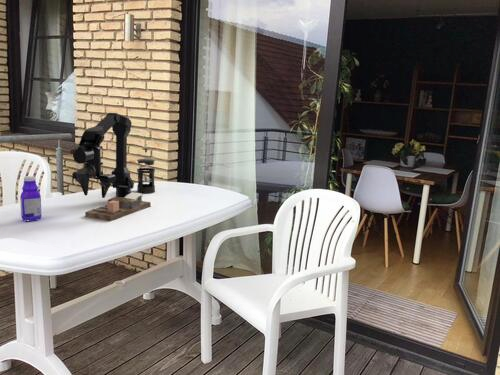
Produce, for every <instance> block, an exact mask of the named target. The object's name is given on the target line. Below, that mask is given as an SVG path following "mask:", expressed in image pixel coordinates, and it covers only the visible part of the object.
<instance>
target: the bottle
mask: <svg viewBox="0 0 500 375" xmlns="http://www.w3.org/2000/svg"><path fill="white" fill-rule="evenodd" d="M36 180H37V179H36V176H31V175H30V176H24V177H23V186H22V188H21V189H22V192H21V194H20V196H19V197H20V215H21V216H20V217H21V219H22V221H24V220H35V221H37V220H36V219H39V220H41V218H42V197H41V196H42V195H41V193H40V191H39V186H38V184H37V181H36Z"/></svg>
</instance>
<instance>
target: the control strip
mask: <svg viewBox="0 0 500 375" xmlns="http://www.w3.org/2000/svg"><path fill="white" fill-rule="evenodd" d="M127 195H128V194H127ZM127 195H125V197H126V196H127ZM142 198H143V196H139V197H138V200H137V201H135V202H132V203H130V202H124V201H119V211H116V212H109V211H108V205H107V204H106V205H103V206H99V207H97V208H93V209H91V210H90V209H89V210H87V211H84V215H85V217H86V218H89V219H96V220H103V221H109V222H112V221H115V220H117V219H120V218H123V217H125V216H128V215H130V214H134V213H137V212H140V211H141V210H145V209H147V208H150V207H151V206H152V205H151V202H150V201H145V200H142ZM110 201H113V200H111V198H108V200H107V202H110ZM114 201H117V200H114Z"/></svg>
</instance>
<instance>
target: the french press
mask: <svg viewBox="0 0 500 375" xmlns="http://www.w3.org/2000/svg"><path fill="white" fill-rule="evenodd" d="M142 150H144V152H145V153H147V152H148V150H151V149H150V148H148V147H147V148H146V147H144V148H142ZM136 161H137V164H138V165H139V164H145V165H146V166H154V165H155V161H156V160H155V159H152V158H140V159H137V160H136ZM155 170H156V169H155V168H154V167H153V168H152V167H140V168H139V167H138V168H137V169H136V172H137V185H136V187H137V190H136V193H141V194H143V195H145V194H147V195H148V194H153V193H156V185H155ZM144 174H148V177H144Z"/></svg>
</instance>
